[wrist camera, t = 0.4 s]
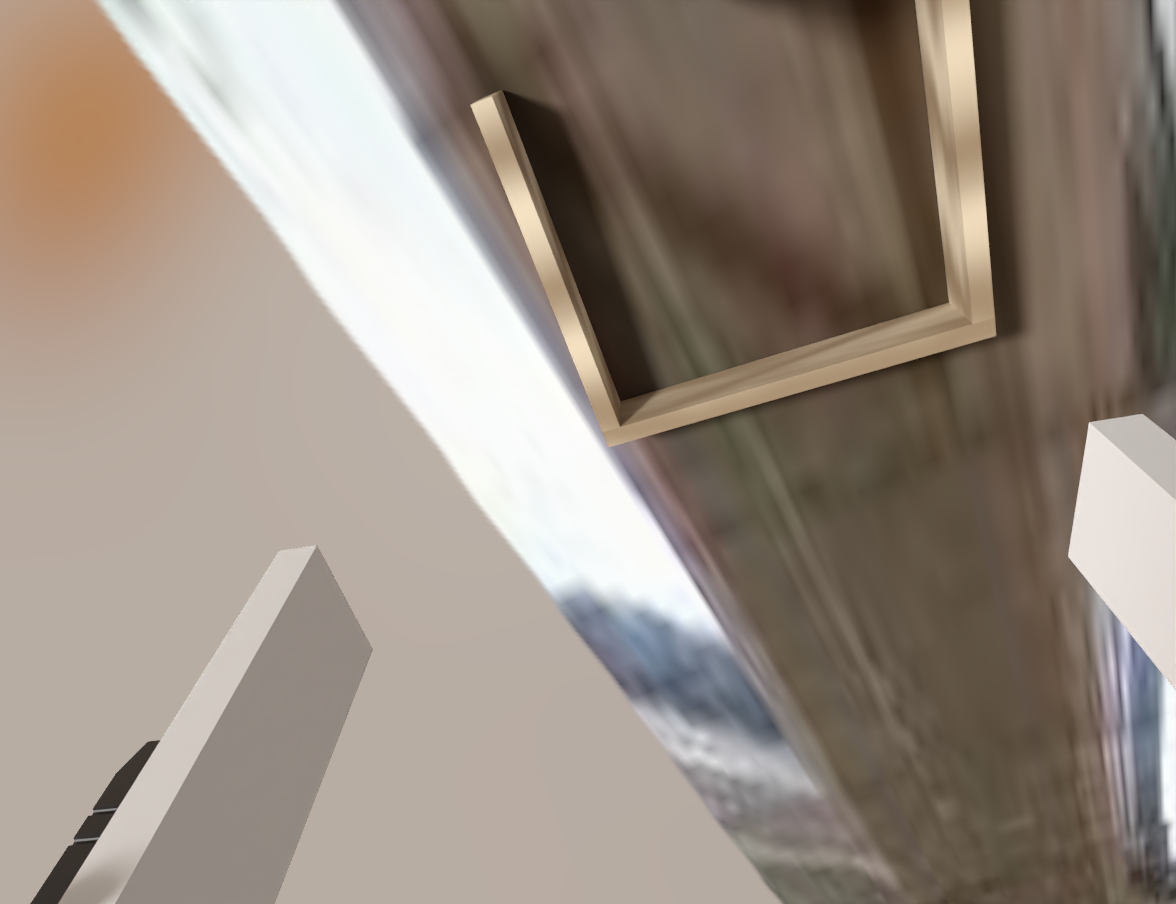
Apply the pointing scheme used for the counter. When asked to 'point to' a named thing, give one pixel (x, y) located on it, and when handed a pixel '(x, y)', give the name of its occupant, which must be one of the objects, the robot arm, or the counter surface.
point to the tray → (823, 361)
